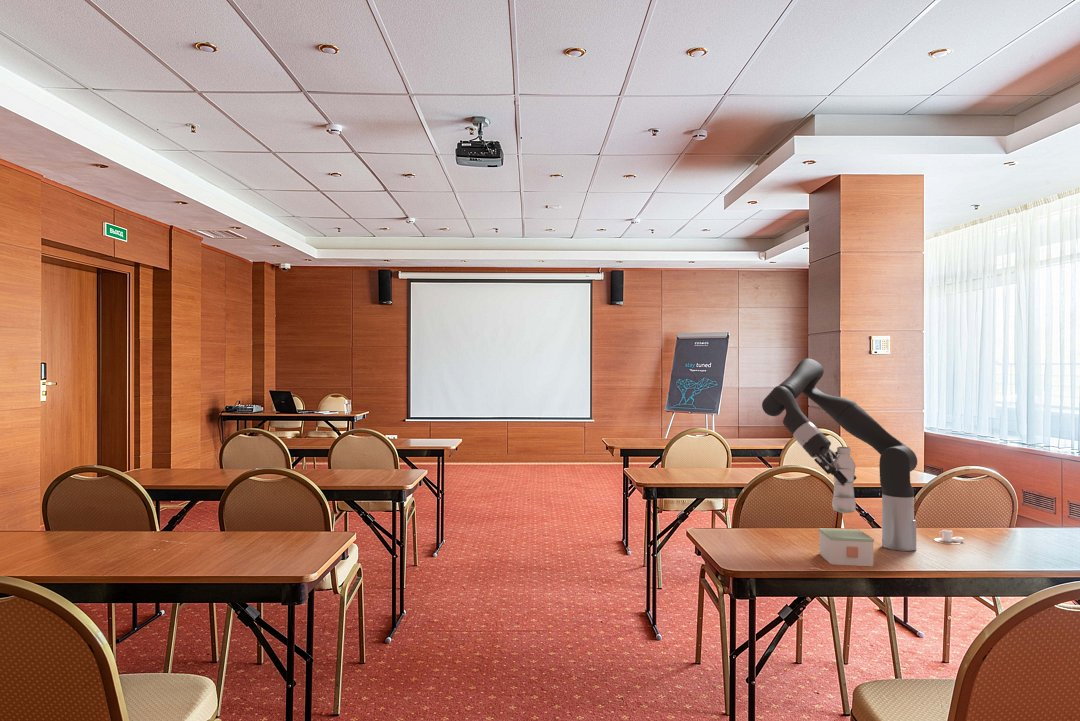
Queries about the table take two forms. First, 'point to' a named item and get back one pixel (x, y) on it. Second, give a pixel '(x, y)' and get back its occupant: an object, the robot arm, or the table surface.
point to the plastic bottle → (845, 493)
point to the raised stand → (846, 547)
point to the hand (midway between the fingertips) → (849, 481)
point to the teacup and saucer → (949, 537)
